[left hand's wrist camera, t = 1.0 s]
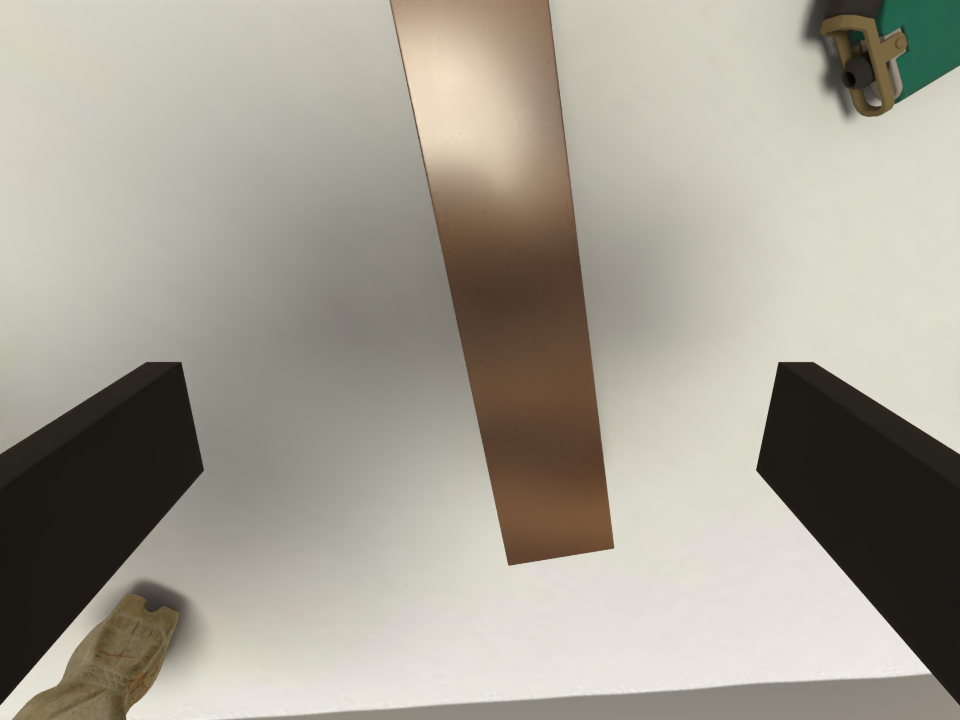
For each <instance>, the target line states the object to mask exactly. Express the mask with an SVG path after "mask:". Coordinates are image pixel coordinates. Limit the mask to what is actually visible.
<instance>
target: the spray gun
mask: <svg viewBox="0 0 960 720" xmlns="http://www.w3.org/2000/svg"><path fill="white" fill-rule="evenodd" d="M824 17H825V19H826V20H824V21H823V22H822V26H821V29H820V34H821V35H824V36H829V37H834V38H835V41H836V44H837V48H838V51H839V55H840V58H841V62H842V65H843V69H844V71H843V73H842V81H843V83H844V85H845V86H846V87H848V88H849V90H850V94H851V97H852V101H853V104H854V106H855V108H856V110H857V111H858V112H859V113H860V114H861V115H863V116H867V117H872V116H879V115H882V114H884V113H885V112H887V111H889V110H890V109H892V107H893V105H894V104H896V103H899V102H900V101H902V100H903V99H905V98H907V97H908V96H910V95H912V94H913V93H915V92H917V91H918V90H920V89H922V88H923V87H925V86H927V85H928V84H930V83H932V82H933V81H935V80H936V79H938V78H940V77H941V76H943V75H945V74H946V73H948V72H950V71H951V70H953V69H955V68H956V67H958V66H960V0H830V1H829V4H828V7H827V10H826V13H825V16H824ZM846 30H854V31H853V33H852V35H851V37H852V41H853V42H859V41H860V44H859V45H858V46H856V47H854V48H853V49H851V48H850V44H849V41H848V37H847V34H846ZM869 84H871V87H872V91H873V94H874V95H875V96H876V97H877V98H878V99H879V100H881V102H882V106H877V107H875V106H871V105H869V104H868V103H867V101H866V99H865V97H864V94H863V90H862V89H863V88H864V87H866V86H868V85H869Z"/></svg>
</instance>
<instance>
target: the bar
mask: <svg viewBox="0 0 960 720" xmlns="http://www.w3.org/2000/svg"><path fill="white" fill-rule="evenodd" d="M390 5H391V10H392V14H393V19H394V24H395V29H396V33H397V38H398V43H399V48H400V52H401V57H402V62H403V67H404V71H405V76H406V81H407V86H408V90H409V95H410V100H411V105H412V109H413V114H414V119H415V124H416V129H417V133H418V138H419V143H420V148H421V152H422V157H423V162H424V167H425V171H426V176H427V181H428V186H429V190H430V195H431V200H432V205H433V209H434V214H435V219H436V224H437V228H438V233H439V238H440V243H441V247H442V252H443V257H444V262H445V267H446V271H447V276H448V281H449V286H450V290H451V295H452V300H453V305H454V309H455V314H456V319H457V324H458V328H459V333H460V338H461V343H462V347H463V352H464V357H465V362H466V366H467V371H468V376H469V381H470V386H471V390H472V395H473V400H474V405H475V409H476V414H477V419H478V424H479V428H480V433H481V438H482V443H483V447H484V452H485V457H486V462H487V466H488V471H489V476H490V481H491V485H492V490H493V495H494V500H495V505H496V509H497V514H498V519H499V524H500V528H501V533H502V538H503V543H504V547H505V552H506V557H507V562H508V565H509V566H510V565H516V564H522V563H528V562H534V561H540V560H547V559H553V558H559V557H565V556H571V555H577V554H583V553H589V552H596V551H602V550H608V549H613V548H614V542H613V534H612V525H611V517H610V508H609V500H608V492H607V483H606V475H605V467H604V458H603V450H602V442H601V433H600V425H599V417H598V408H597V400H596V392H595V383H594V375H593V367H592V358H591V350H590V342H589V333H588V325H587V317H586V308H585V300H584V292H583V283H582V275H581V267H580V258H579V250H578V241H577V233H576V225H575V216H574V208H573V200H572V191H571V183H570V175H569V166H568V158H567V150H566V141H565V133H564V125H563V116H562V108H561V100H560V91H559V83H558V75H557V66H556V58H555V50H554V41H553V33H552V25H551V16H550V8H549V0H390Z"/></svg>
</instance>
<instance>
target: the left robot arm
mask: <svg viewBox="0 0 960 720" xmlns="http://www.w3.org/2000/svg"><path fill="white" fill-rule="evenodd" d="M203 471H204V468H203V464H202V459H201V454H200V449H199V445H198V440H197V435H196V430H195V425H194V421H193V416H192V411H191V406H190V401H189V397H188V392H187V387H186V382H185V377H184V373H183V368H182V363H181V362H146V363H144V364H143V365H141V366H140V367H138V368H136V369H135V370H133V371H132V372H130V373H128V374H127V375H125V376H124V377H122V378H121V379H119V380H117V381H116V382H114V383H113V384H111V385H109V386H108V387H106V388H105V389H103V390H102V391H100V392H98V393H97V394H95V395H94V396H92V397H90V398H89V399H87V400H86V401H84V402H82V403H81V404H79V405H78V406H76V407H75V408H73V409H71V410H70V411H68V412H67V413H65V414H63V415H62V416H60V417H59V418H57V419H56V420H54V421H52V422H51V423H49V424H48V425H46V426H44V427H43V428H41V429H40V430H38V431H37V432H35V433H33V434H32V435H30V436H29V437H27V438H25V439H24V440H22V441H21V442H19V443H17V444H16V445H14V446H13V447H11V448H10V449H8V450H6V451H5V452H3V453H2V454H0V705H1V704H2V703H3V702H4V700H5V699H6V698H7V697H8V696H9V695H10V694H11V692H12V691H13V690H14V689H15V688H16V687H17V685H18V684H19V683H20V682H21V681H22V680H23V679H24V677H25V676H26V675H27V674H28V673H29V672H30V670H31V669H32V668H33V667H34V666H35V665H36V664H37V662H38V661H39V660H40V659H41V658H42V657H43V655H44V654H45V653H46V652H47V651H48V650H49V649H50V647H51V646H52V645H53V644H54V643H55V642H56V640H57V639H58V638H59V637H60V636H61V635H62V634H63V632H64V631H65V630H66V629H67V628H68V627H69V625H70V624H71V623H72V622H73V621H74V620H75V619H76V617H77V616H78V615H79V614H80V613H81V612H82V610H83V609H84V608H85V607H86V606H87V605H88V604H89V602H90V601H91V600H92V599H93V598H94V597H95V595H96V594H97V593H98V592H99V591H100V590H101V589H102V587H103V586H104V585H105V584H106V583H107V582H108V580H109V579H110V578H111V577H112V576H113V575H114V574H115V572H116V571H117V570H118V569H119V568H120V567H121V565H122V564H123V563H124V562H125V561H126V560H127V559H128V557H129V556H130V555H131V554H132V553H133V552H134V550H135V549H136V548H137V547H138V546H139V545H140V544H141V542H142V541H143V540H144V539H145V538H146V537H147V535H148V534H149V533H150V532H151V531H152V530H153V529H154V527H155V526H156V525H157V524H158V523H159V522H160V520H161V519H162V518H163V517H164V516H165V515H166V514H167V512H168V511H169V510H170V509H171V508H172V507H173V505H174V504H175V503H176V502H177V501H178V500H179V499H180V497H181V496H182V495H183V494H184V493H185V492H186V490H187V489H188V488H189V487H190V486H191V485H192V484H193V482H194V481H195V480H196V479H197V478H198V477H199V475H200V474H201V473H202V472H203ZM756 471H757V472H758V473H759V474H760V475H761V477H762V478H763V479H764V480H765V481H766V482H767V484H768V485H769V486H770V487H771V488H772V489H773V490H774V492H775V493H776V494H777V495H778V496H779V497H780V499H781V500H782V501H783V502H784V503H785V504H786V505H787V507H788V508H789V509H790V510H791V511H792V512H793V514H794V515H795V516H796V517H797V518H798V519H799V520H800V522H801V523H802V524H803V525H804V526H805V527H806V529H807V530H808V531H809V532H810V533H811V534H812V535H813V537H814V538H815V539H816V540H817V541H818V542H819V544H820V545H821V546H822V547H823V548H824V549H825V550H826V552H827V553H828V554H829V555H830V556H831V557H832V559H833V560H834V561H835V562H836V563H837V564H838V565H839V567H840V568H841V569H842V570H843V571H844V572H845V574H846V575H847V576H848V577H849V578H850V579H851V580H852V582H853V583H854V584H855V585H856V586H857V587H858V589H859V590H860V591H861V592H862V593H863V594H864V595H865V597H866V598H867V599H868V600H869V601H870V602H871V604H872V605H873V606H874V607H875V608H876V609H877V610H878V612H879V613H880V614H881V615H882V616H883V617H884V619H885V620H886V621H887V622H888V623H889V624H890V625H891V627H892V628H893V629H894V630H895V631H896V632H897V634H898V635H899V636H900V637H901V638H902V639H903V640H904V642H905V643H906V644H907V645H908V646H909V647H910V649H911V650H912V651H913V652H914V653H915V654H916V655H917V657H918V658H919V659H920V660H921V661H922V662H923V664H924V665H925V666H926V667H927V668H928V669H929V670H930V672H931V673H932V674H933V675H934V676H935V677H936V679H937V680H938V681H939V682H940V683H941V684H942V685H943V687H944V688H945V689H946V690H947V691H948V692H949V693H950V695H951V696H952V697H953V698H954V699H955V700H956V702H957V703H958V704H959V705H960V454H958V453H957V452H955V451H954V450H952V449H950V448H949V447H947V446H946V445H944V444H943V443H941V442H939V441H938V440H936V439H935V438H933V437H931V436H930V435H928V434H927V433H925V432H923V431H922V430H920V429H919V428H917V427H916V426H914V425H912V424H911V423H909V422H908V421H906V420H904V419H903V418H901V417H900V416H898V415H897V414H895V413H893V412H892V411H890V410H889V409H887V408H885V407H884V406H882V405H881V404H879V403H878V402H876V401H874V400H873V399H871V398H870V397H868V396H866V395H865V394H863V393H862V392H860V391H858V390H857V389H855V388H854V387H852V386H851V385H849V384H847V383H846V382H844V381H843V380H841V379H839V378H838V377H836V376H835V375H833V374H832V373H830V372H828V371H827V370H825V369H824V368H822V367H820V366H819V365H817V364H816V363H814V362H779V363H778V368H777V373H776V377H775V382H774V387H773V392H772V397H771V401H770V406H769V411H768V416H767V421H766V425H765V430H764V435H763V440H762V445H761V449H760V454H759V459H758V464H757V468H756Z"/></svg>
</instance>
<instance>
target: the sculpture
mask: <svg viewBox="0 0 960 720" xmlns="http://www.w3.org/2000/svg"><path fill="white" fill-rule="evenodd" d="M146 605H147V599H145V598H143V597H141V596H138V595H135V594H127V595H126V596H125V597H124V598H123V599H122V601H121V602H120V603H119V604H118V606H117V607H116V608H115V609H114V610H113V612H112V613H111V614H110V615H109V616H108V617H107V618H106V620H104V621H103V622H101V623H100V624H99V625H97V626H96V627H95V628H94V629H93V630H92V631H91V632H90V633H89V634H88V635H87V636H86V637H85V639H84V640H83V641H82V642H81V643H80V644H79V646H78V647H77V648H76V650H75V651H74V653H73V654H72V656H71V658H70V660H69V662H68V664H67V667H66V670H65V673H64V676H63V678H62V680H61V681H60V683H59V684H58V685H57V686H55V687H53V688H51V689H48V690H46V691H43V692H41V693H39V694H37V695H36V696H34V697H33V698H32V699H31V700H30V701H29V702H27V703H26V705H25V706H24V707H23V708H22V709H21V710H20V711H19V712H18V713H17V715H16V716H15V717H14V718H13V719H12V720H126V714H127V712H128V710H129V709H130V708H131V706H132V705H133V704H135V703H136V702H138V701H139V700H140V699H141V698H142V697H143V696H144V695H145V694H146V693H147V692H148V690H149V689H150V688H151V687H152V685H153V683H154V682H155V680H156V678H157V676H158V674H159V672H160V669H161V667H162V664H163V662H164V659H165V655H166V652H167V649H168V646H169V643H170V640H171V638H172V635H173V633H174V630H175V627H176V624H177V622H178V619H179V613H178V612H177V611H174V610H172V609H170V608H168V607H165V606H163V607H160V608H159V609H158V610H156V611H153V612H149V611H147V610H146Z"/></svg>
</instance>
